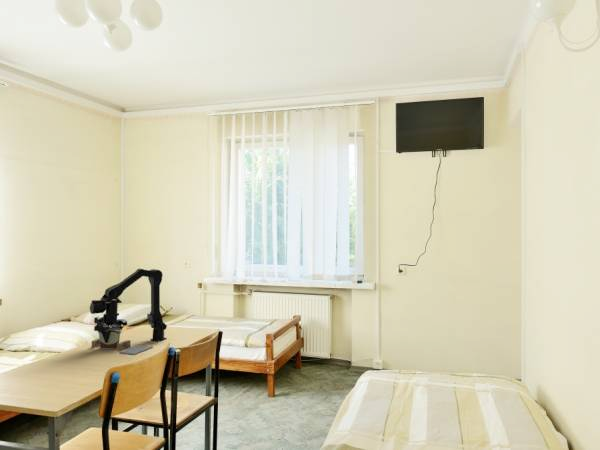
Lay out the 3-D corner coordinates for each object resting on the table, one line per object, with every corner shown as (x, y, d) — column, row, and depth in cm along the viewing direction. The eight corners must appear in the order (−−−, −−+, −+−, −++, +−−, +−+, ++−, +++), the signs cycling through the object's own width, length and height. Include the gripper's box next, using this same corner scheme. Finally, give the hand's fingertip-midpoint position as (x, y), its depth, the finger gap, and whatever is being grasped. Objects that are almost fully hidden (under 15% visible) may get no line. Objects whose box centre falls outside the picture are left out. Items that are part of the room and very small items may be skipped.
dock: (102, 344, 246) (102, 337, 246) (130, 347, 240) (130, 340, 240) (91, 347, 238) (91, 340, 238) (120, 350, 233) (120, 344, 233)
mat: (138, 346, 243) (138, 344, 243) (153, 347, 240) (153, 346, 240) (119, 353, 229) (119, 352, 229) (134, 354, 226) (134, 353, 226)
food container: (125, 346, 241) (126, 327, 242) (119, 349, 235) (120, 330, 236) (103, 345, 243) (104, 326, 243) (97, 348, 237) (97, 328, 237)
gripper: (111, 308, 251) (110, 336, 250) (85, 313, 233) (84, 344, 233) (128, 309, 247) (127, 338, 247) (103, 315, 230) (102, 346, 229)
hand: (110, 341), depth 239 cm, fingers closed on food container, 6 cm apart
